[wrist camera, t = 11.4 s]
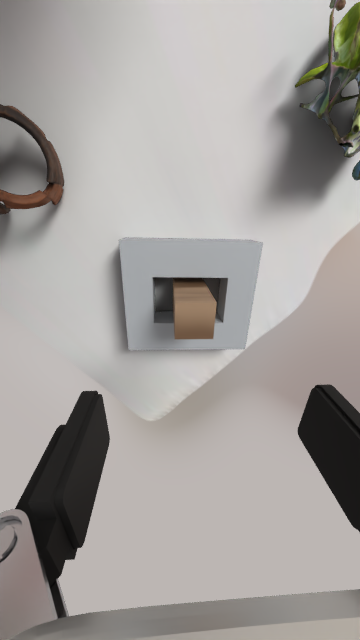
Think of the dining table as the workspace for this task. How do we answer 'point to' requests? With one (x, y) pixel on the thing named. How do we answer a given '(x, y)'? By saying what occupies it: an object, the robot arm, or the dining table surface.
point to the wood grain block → (193, 309)
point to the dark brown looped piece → (53, 168)
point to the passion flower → (340, 76)
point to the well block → (188, 261)
